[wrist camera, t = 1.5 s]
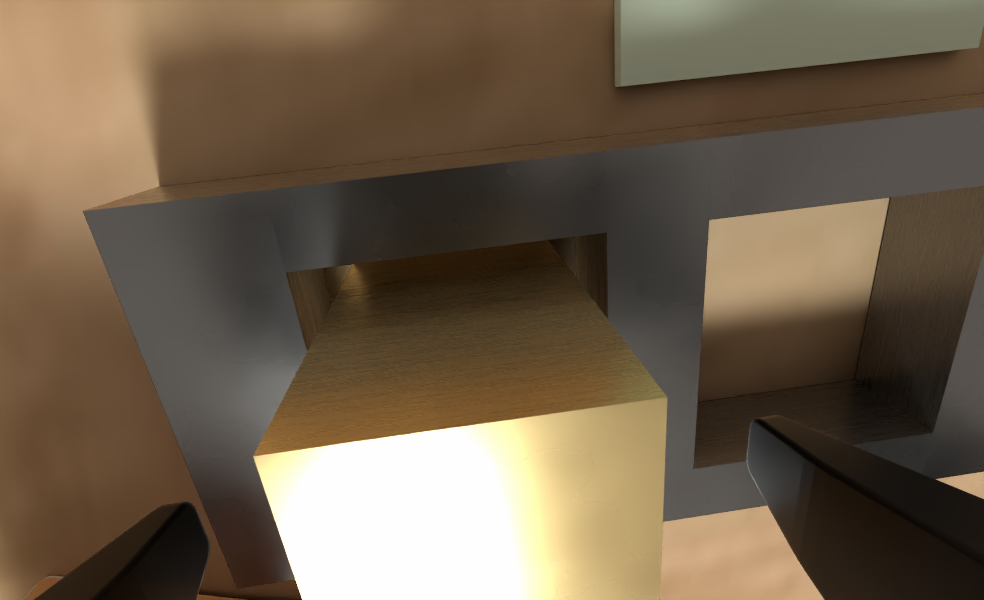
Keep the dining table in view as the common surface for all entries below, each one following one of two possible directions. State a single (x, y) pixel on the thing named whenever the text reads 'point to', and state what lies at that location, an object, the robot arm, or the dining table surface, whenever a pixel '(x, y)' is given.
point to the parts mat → (780, 34)
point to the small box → (51, 580)
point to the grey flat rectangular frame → (600, 269)
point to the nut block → (469, 439)
